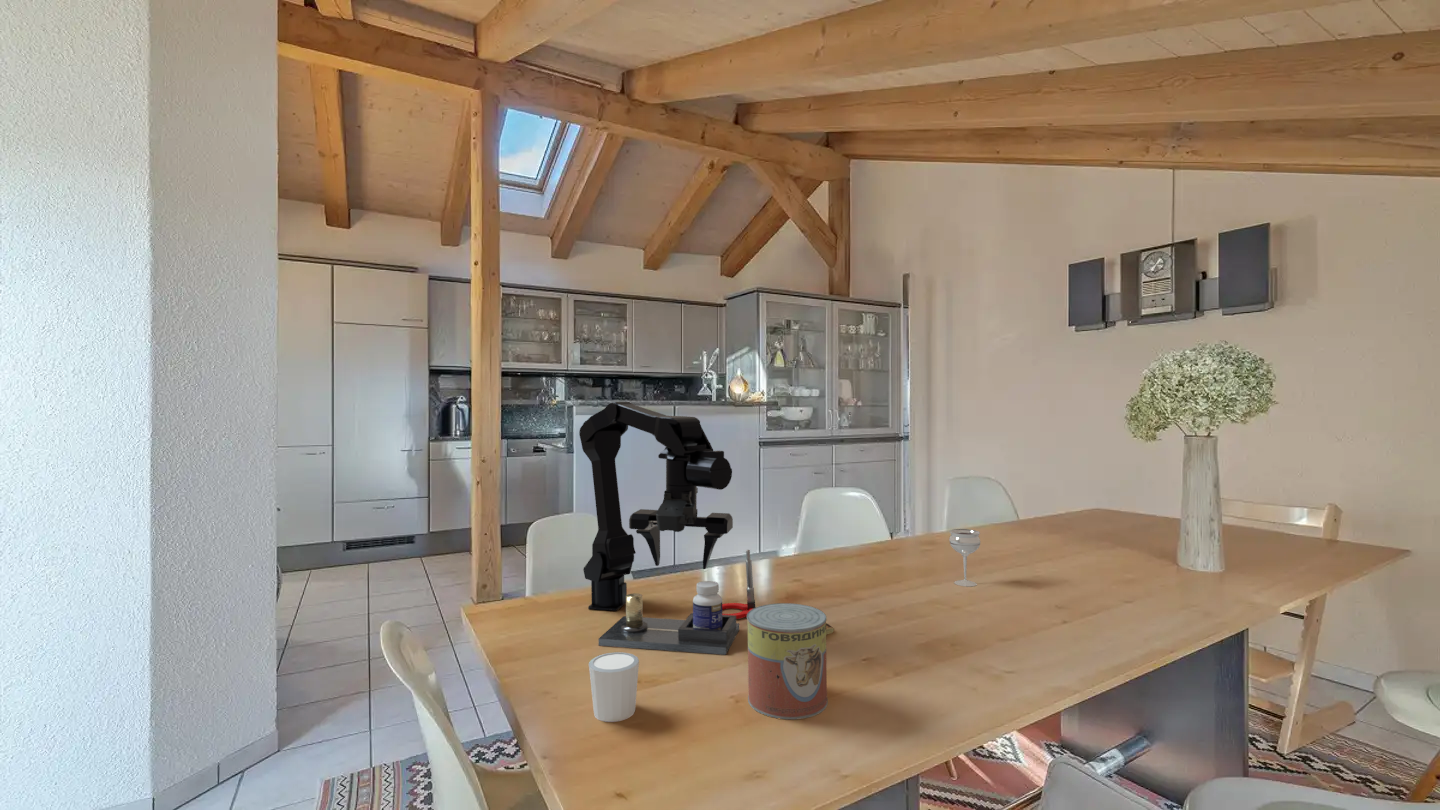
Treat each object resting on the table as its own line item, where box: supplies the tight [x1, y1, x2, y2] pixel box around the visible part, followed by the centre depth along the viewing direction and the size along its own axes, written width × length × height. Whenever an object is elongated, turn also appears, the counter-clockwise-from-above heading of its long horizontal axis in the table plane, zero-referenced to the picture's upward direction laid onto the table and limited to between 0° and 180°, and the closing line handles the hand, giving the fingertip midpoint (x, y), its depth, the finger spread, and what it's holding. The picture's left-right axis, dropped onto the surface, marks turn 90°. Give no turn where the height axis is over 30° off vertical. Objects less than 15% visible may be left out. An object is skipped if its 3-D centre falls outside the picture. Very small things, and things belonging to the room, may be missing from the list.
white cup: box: [588, 651, 640, 723], centre depth 86 cm, size 7×7×7 cm
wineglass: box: [948, 528, 981, 587], centre depth 145 cm, size 7×7×12 cm
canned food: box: [746, 602, 829, 720], centre depth 89 cm, size 11×11×12 cm
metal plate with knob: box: [598, 592, 740, 656], centre depth 114 cm, size 23×12×7 cm, turn 77°
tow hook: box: [722, 549, 757, 620], centre depth 126 cm, size 8×13×9 cm
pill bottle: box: [692, 580, 723, 630], centre depth 112 cm, size 5×5×9 cm
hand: (680, 567), depth 117 cm, fingers open, 9 cm apart
